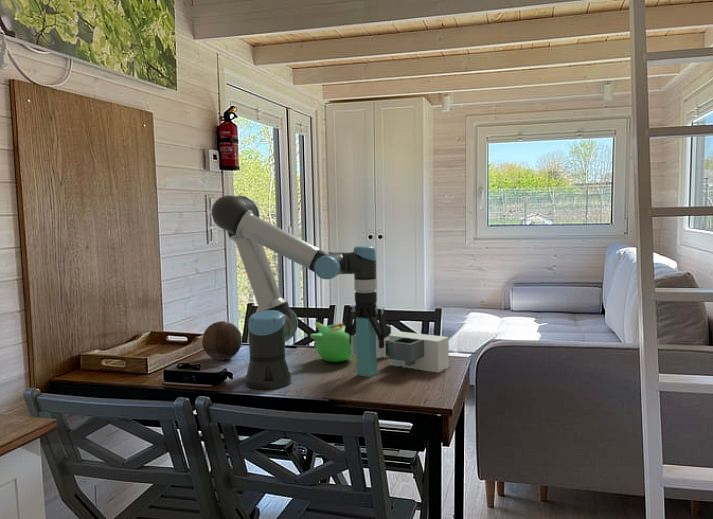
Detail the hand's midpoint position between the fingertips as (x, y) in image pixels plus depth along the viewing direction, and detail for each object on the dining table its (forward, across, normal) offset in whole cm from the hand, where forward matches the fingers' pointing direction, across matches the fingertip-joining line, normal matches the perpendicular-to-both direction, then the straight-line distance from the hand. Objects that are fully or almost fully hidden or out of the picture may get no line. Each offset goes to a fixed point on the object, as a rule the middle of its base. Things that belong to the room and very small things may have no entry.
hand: (366, 355), depth 203 cm
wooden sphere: (+7, +60, +12) cm, 62 cm away
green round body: (+7, +21, -9) cm, 24 cm away
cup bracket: (+5, -10, -10) cm, 15 cm away
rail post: (+7, 0, 0) cm, 7 cm away
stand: (+7, -10, -18) cm, 22 cm away
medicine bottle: (+7, +10, -26) cm, 29 cm away
